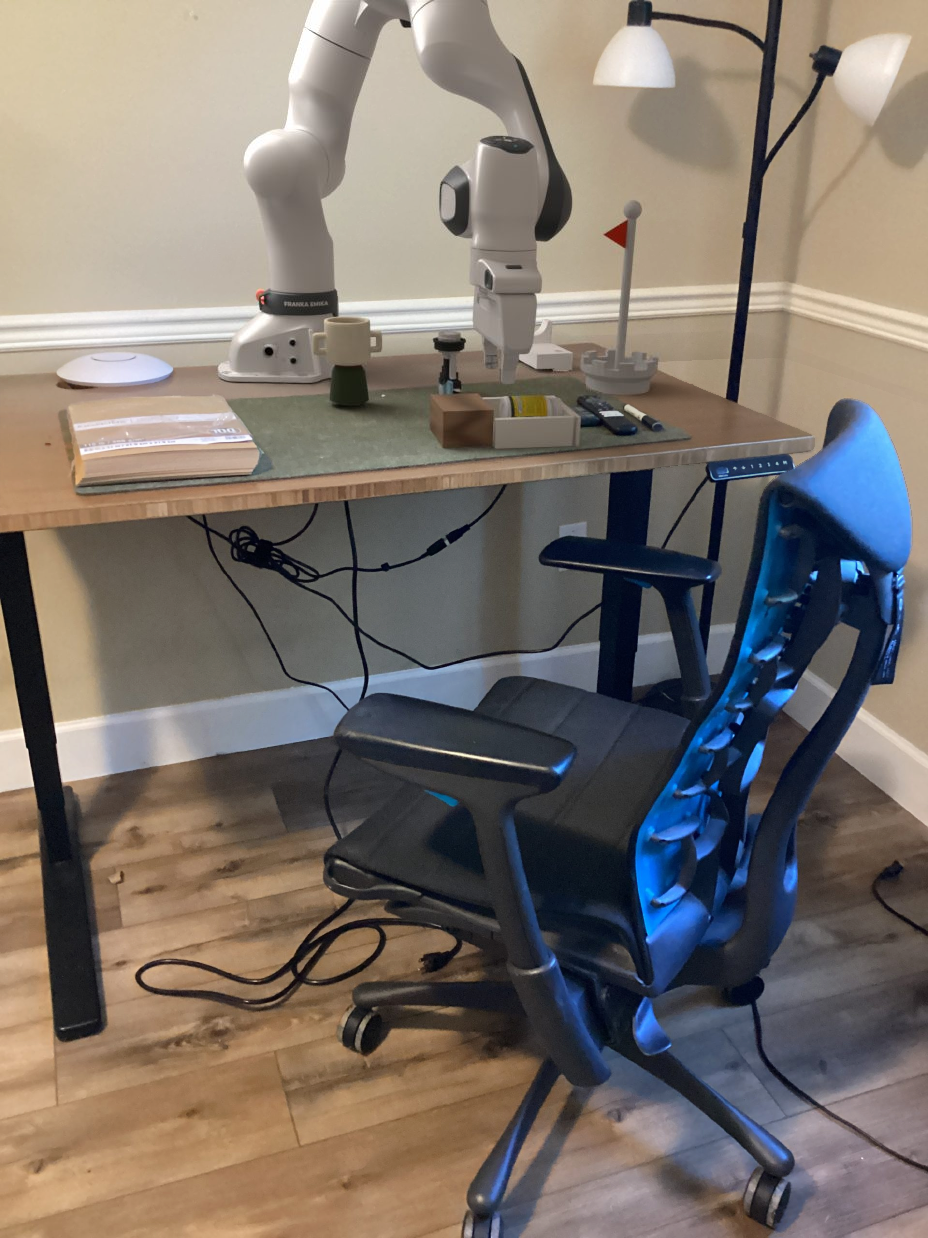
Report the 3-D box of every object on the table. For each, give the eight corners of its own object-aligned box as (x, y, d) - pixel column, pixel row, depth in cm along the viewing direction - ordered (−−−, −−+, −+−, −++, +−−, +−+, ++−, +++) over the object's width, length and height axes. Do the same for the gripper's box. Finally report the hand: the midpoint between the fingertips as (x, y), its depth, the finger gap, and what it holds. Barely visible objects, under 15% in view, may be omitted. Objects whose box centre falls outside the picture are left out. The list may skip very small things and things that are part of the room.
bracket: (510, 360, 196) (512, 319, 193) (544, 358, 198) (547, 318, 195) (536, 374, 185) (538, 331, 182) (571, 372, 187) (574, 330, 184)
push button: (473, 399, 165) (475, 336, 161) (443, 401, 163) (444, 338, 159) (456, 390, 170) (457, 329, 166) (427, 392, 168) (427, 331, 164)
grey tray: (495, 448, 139) (496, 419, 137) (474, 424, 150) (475, 397, 149) (578, 445, 141) (580, 417, 139) (552, 421, 153) (554, 395, 151)
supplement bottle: (508, 420, 141) (566, 418, 143) (503, 389, 142) (561, 388, 144) (501, 436, 145) (557, 433, 147) (497, 406, 147) (552, 404, 148)
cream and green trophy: (377, 397, 164) (376, 314, 159) (388, 407, 158) (387, 322, 153) (310, 401, 161) (306, 317, 156) (319, 412, 155) (316, 324, 149)
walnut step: (442, 447, 139) (443, 411, 137) (429, 428, 148) (430, 394, 145) (492, 445, 140) (493, 409, 138) (476, 427, 149) (477, 393, 147)
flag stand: (627, 377, 183) (643, 197, 170) (670, 392, 172) (691, 202, 160) (565, 382, 178) (577, 197, 165) (605, 398, 167) (621, 202, 154)
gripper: (463, 261, 144) (461, 360, 150) (497, 280, 126) (493, 392, 132) (506, 261, 145) (502, 359, 151) (546, 280, 127) (540, 390, 133)
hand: (498, 375), depth 141 cm, fingers open, 8 cm apart
